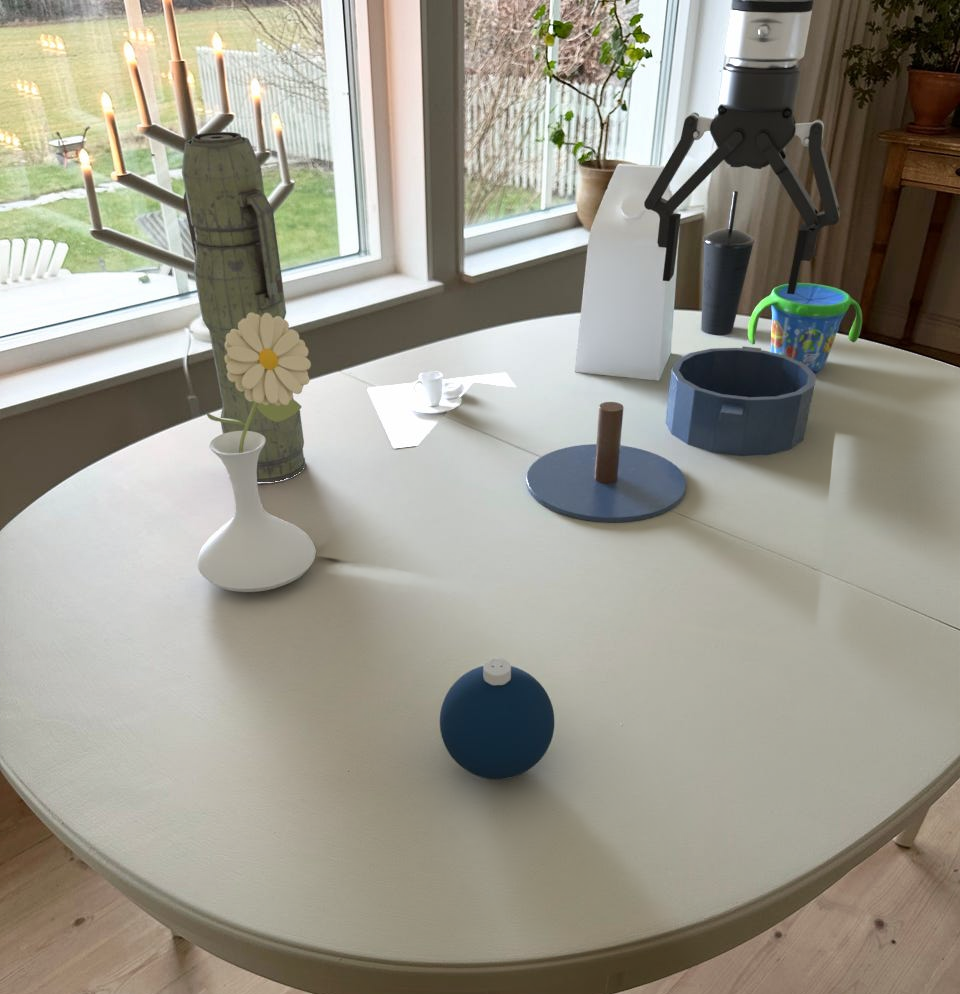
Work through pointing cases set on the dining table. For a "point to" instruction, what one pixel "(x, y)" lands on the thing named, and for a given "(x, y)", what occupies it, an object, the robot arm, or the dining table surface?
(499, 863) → the dining table surface
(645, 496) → the lid
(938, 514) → the dining table surface
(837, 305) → the snack cup
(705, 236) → the drinking cup
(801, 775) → the dining table surface
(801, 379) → the pot
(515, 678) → the christmas ornament
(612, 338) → the milk
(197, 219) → the thermos
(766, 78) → the robot arm
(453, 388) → the teacup and saucer
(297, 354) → the flower in vase
